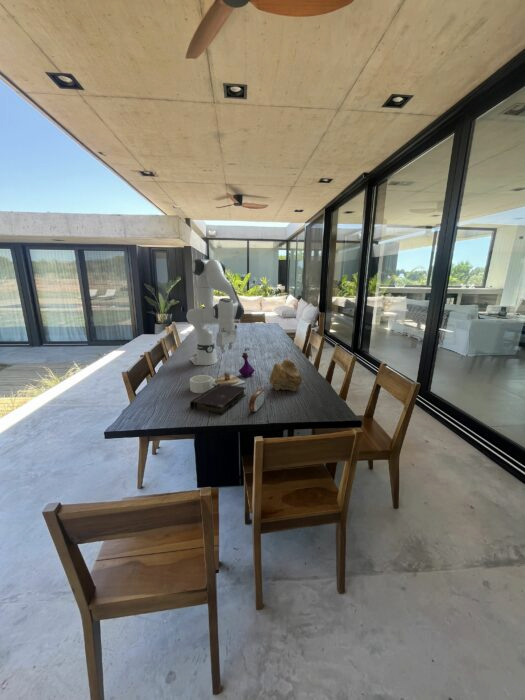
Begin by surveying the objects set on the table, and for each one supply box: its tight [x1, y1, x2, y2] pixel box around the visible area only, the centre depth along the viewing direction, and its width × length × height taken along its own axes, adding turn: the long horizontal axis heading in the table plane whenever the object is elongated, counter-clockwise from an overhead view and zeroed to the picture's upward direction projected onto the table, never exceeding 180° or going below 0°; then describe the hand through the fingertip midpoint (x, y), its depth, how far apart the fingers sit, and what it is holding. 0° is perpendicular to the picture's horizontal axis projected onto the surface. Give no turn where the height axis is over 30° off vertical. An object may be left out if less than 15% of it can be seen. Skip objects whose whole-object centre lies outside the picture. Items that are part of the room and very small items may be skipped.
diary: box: [189, 384, 247, 416], centre depth 148 cm, size 19×25×5 cm
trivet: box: [213, 374, 247, 386], centre depth 175 cm, size 16×16×1 cm
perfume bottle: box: [238, 347, 255, 378], centre depth 185 cm, size 8×8×18 cm
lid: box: [214, 371, 240, 385], centre depth 175 cm, size 14×14×5 cm
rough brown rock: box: [269, 358, 303, 392], centre depth 165 cm, size 23×17×15 cm
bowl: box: [189, 374, 214, 394], centre depth 164 cm, size 12×12×6 cm
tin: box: [248, 388, 266, 412], centre depth 141 cm, size 15×3×8 cm, turn 158°
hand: (226, 351), depth 171 cm, fingers open, 8 cm apart
